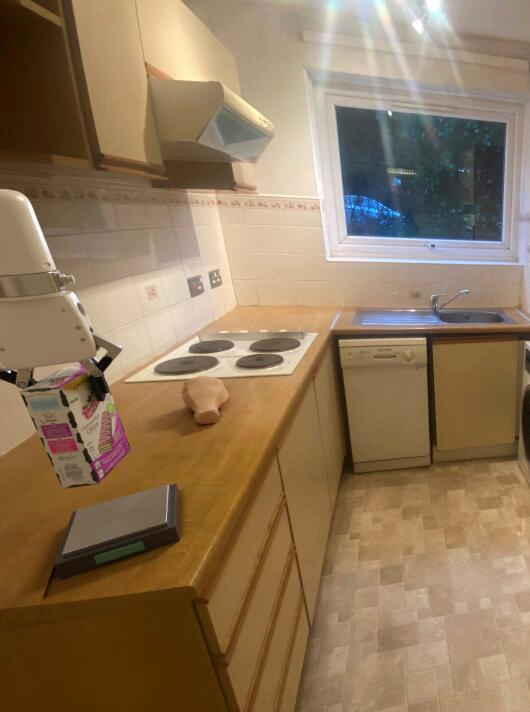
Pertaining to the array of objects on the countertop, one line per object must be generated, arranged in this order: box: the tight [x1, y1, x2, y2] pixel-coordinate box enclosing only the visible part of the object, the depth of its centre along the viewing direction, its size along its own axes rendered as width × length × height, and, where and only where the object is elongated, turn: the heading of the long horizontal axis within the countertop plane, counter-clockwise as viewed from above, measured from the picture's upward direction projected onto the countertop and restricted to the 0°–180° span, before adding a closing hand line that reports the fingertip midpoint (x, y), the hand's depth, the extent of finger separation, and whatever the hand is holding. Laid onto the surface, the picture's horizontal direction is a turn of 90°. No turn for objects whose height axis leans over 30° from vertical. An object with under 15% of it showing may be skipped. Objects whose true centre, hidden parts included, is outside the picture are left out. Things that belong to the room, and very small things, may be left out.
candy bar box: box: [19, 364, 132, 490], centre depth 68 cm, size 11×5×16 cm, turn 18°
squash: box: [180, 375, 230, 425], centre depth 120 cm, size 11×20×9 cm, turn 37°
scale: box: [53, 483, 181, 580], centre depth 76 cm, size 15×16×3 cm
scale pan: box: [62, 484, 170, 558], centre depth 75 cm, size 13×13×1 cm
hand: (73, 402), depth 67 cm, fingers closed on candy bar box, 6 cm apart
